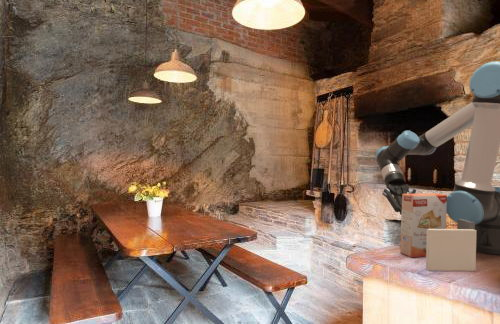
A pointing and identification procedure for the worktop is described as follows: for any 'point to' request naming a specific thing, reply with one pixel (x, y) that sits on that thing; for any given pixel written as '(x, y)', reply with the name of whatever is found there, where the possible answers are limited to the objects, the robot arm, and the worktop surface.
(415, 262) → the worktop surface
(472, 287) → the worktop surface
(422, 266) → the worktop surface
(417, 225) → the cracker box
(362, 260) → the worktop surface
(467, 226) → the shelf bookend
